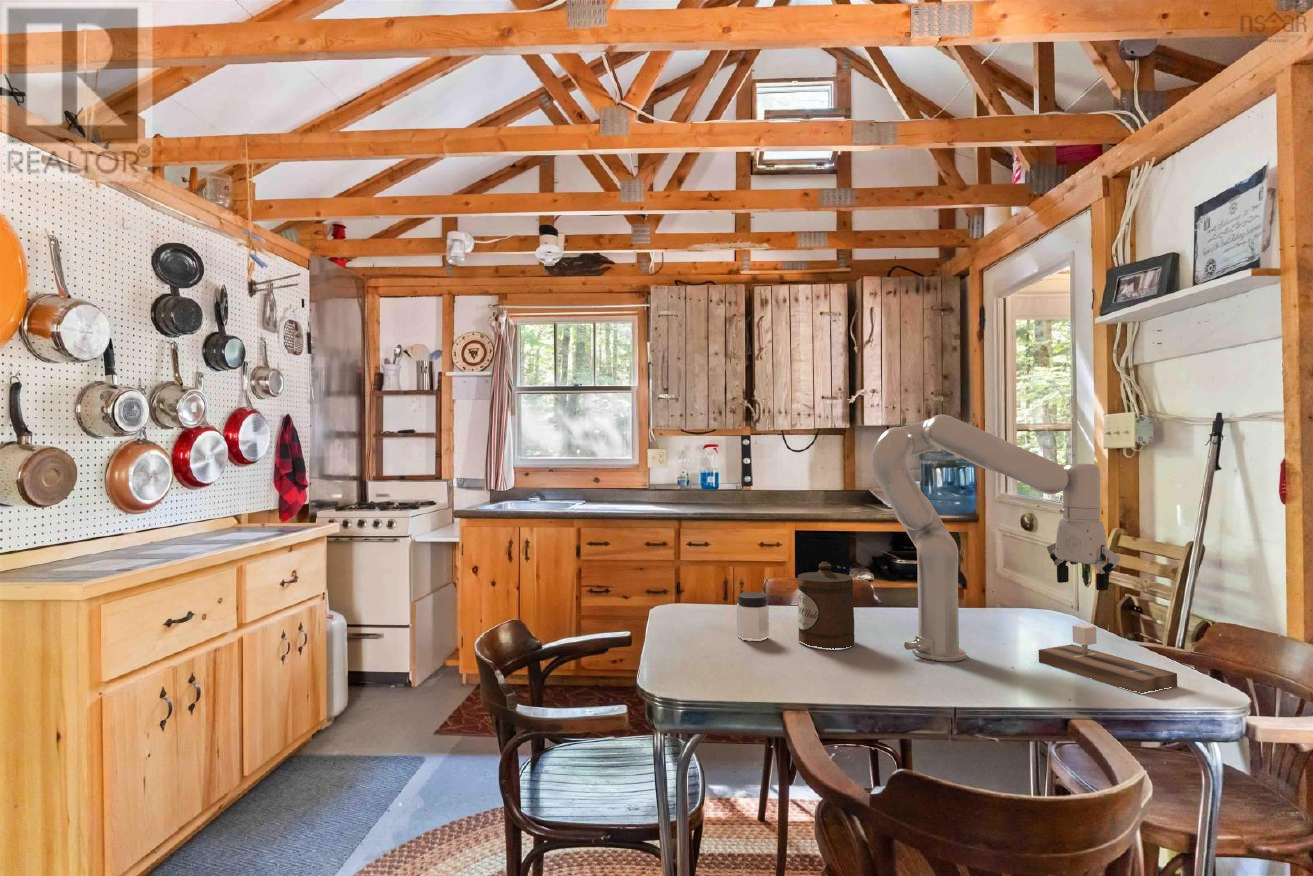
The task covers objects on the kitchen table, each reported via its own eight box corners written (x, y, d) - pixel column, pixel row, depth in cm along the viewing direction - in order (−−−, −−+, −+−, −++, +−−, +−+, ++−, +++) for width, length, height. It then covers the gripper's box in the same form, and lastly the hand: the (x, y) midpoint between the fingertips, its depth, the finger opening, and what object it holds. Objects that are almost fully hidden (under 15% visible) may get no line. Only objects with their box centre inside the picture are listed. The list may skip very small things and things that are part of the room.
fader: (1085, 656, 155) (1084, 628, 155) (1073, 653, 158) (1072, 625, 158) (1096, 654, 156) (1096, 626, 157) (1084, 651, 159) (1083, 623, 159)
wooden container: (794, 635, 187) (793, 558, 187) (846, 635, 186) (845, 558, 187) (804, 651, 172) (803, 566, 173) (861, 651, 172) (860, 566, 172)
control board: (1141, 694, 139) (1141, 680, 139) (1038, 662, 162) (1038, 649, 162) (1177, 687, 144) (1177, 673, 144) (1072, 656, 166) (1072, 644, 166)
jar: (772, 641, 181) (772, 597, 181) (744, 643, 179) (744, 599, 179) (760, 632, 190) (760, 591, 190) (733, 634, 188) (733, 592, 188)
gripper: (1037, 512, 165) (1038, 580, 164) (1107, 518, 149) (1107, 594, 148) (1058, 511, 167) (1059, 578, 167) (1129, 517, 151) (1129, 592, 151)
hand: (1082, 586), depth 158 cm, fingers open, 9 cm apart
